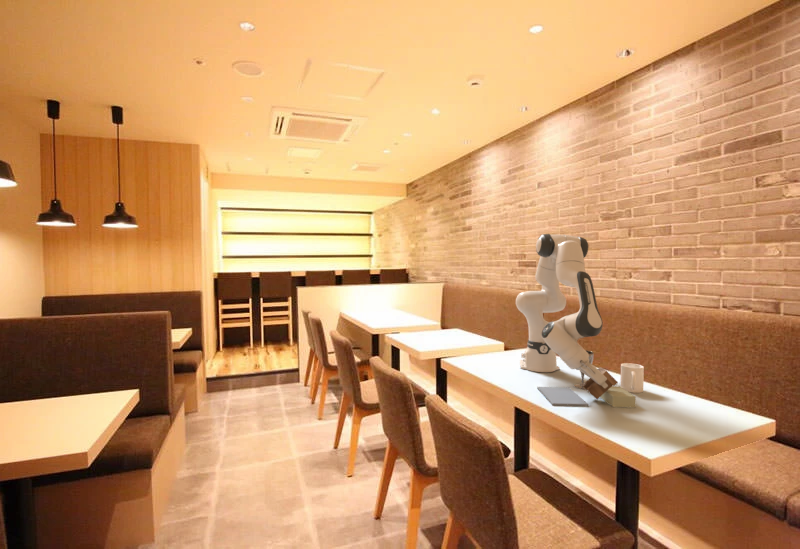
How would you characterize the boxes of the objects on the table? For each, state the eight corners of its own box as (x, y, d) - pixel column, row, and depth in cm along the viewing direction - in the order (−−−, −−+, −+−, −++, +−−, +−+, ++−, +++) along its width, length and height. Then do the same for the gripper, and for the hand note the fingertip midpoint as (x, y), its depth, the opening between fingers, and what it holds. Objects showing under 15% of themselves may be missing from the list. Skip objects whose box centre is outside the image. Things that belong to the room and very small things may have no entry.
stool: (581, 394, 158) (582, 366, 157) (610, 395, 157) (611, 367, 156) (587, 399, 152) (588, 370, 152) (617, 400, 151) (618, 371, 151)
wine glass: (569, 386, 172) (569, 351, 172) (576, 382, 178) (577, 348, 177) (588, 390, 167) (589, 354, 166) (595, 386, 172) (596, 351, 172)
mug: (645, 397, 159) (646, 371, 159) (621, 394, 162) (622, 368, 162) (642, 388, 170) (642, 364, 169) (619, 386, 173) (620, 362, 173)
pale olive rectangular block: (598, 396, 160) (599, 386, 160) (619, 396, 160) (619, 386, 159) (612, 406, 148) (613, 396, 148) (635, 407, 148) (635, 396, 147)
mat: (537, 388, 169) (537, 386, 169) (569, 389, 169) (569, 387, 169) (552, 405, 149) (552, 403, 149) (588, 406, 149) (588, 404, 149)
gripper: (593, 359, 144) (621, 386, 144) (572, 346, 164) (596, 370, 164) (580, 371, 144) (607, 398, 144) (561, 357, 165) (585, 381, 164)
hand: (601, 383), depth 154 cm, fingers closed on stool, 5 cm apart
